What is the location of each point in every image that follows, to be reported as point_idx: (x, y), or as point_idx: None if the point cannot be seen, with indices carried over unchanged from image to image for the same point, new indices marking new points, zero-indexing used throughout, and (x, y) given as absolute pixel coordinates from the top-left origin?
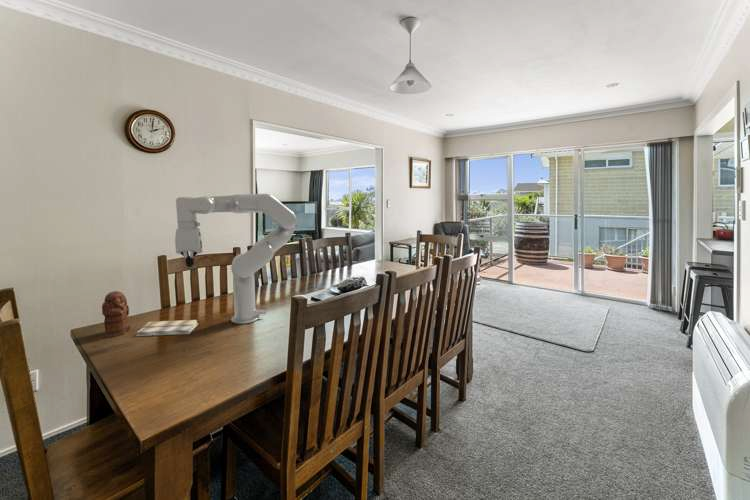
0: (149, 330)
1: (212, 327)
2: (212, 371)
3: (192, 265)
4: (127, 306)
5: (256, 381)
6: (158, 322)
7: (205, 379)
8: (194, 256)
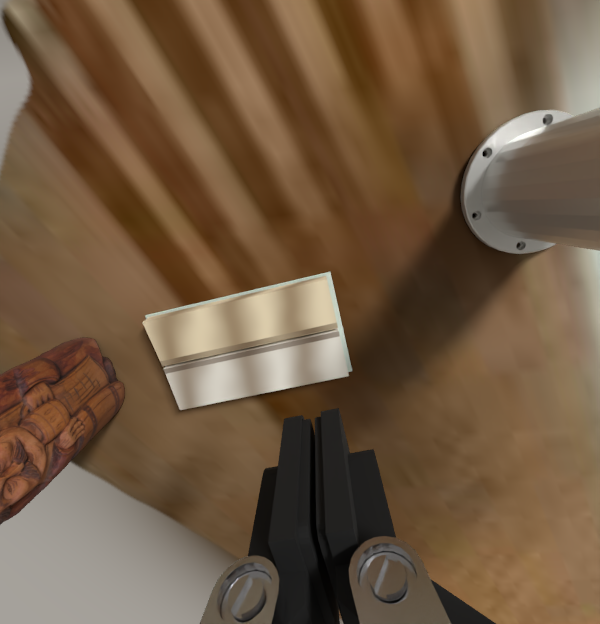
0: (211, 393)
1: (409, 301)
2: (535, 567)
3: (346, 442)
4: (29, 389)
5: None
6: (185, 324)
7: (531, 593)
8: (414, 560)
